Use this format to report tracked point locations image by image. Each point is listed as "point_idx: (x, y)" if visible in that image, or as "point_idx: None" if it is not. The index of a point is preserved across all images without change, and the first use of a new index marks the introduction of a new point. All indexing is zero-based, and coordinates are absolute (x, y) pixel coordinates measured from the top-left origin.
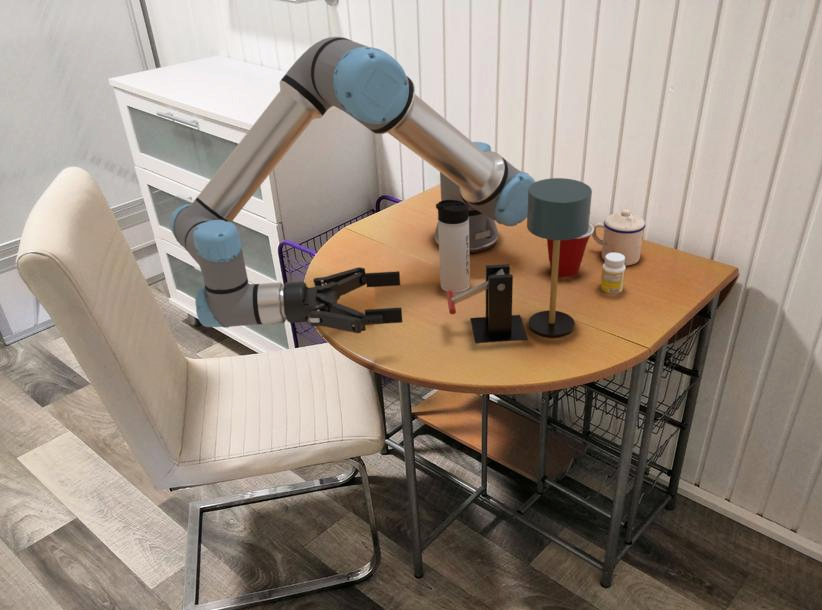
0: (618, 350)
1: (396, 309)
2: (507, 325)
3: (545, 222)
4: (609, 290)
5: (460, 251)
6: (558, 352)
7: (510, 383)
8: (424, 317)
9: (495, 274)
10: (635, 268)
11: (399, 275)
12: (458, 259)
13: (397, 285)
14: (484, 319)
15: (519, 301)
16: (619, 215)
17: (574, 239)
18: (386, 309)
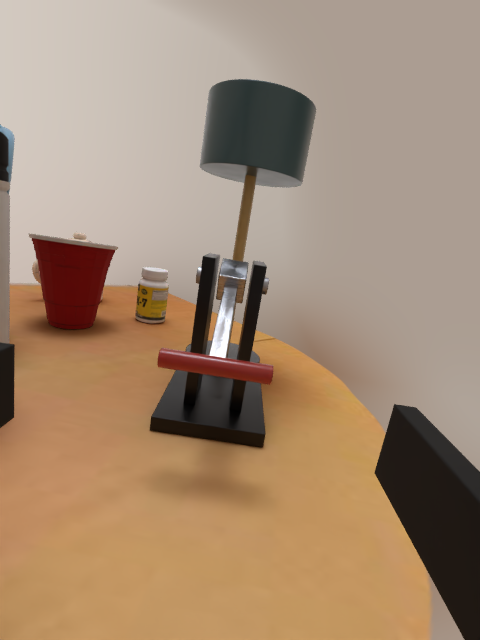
0: (280, 348)
1: (424, 421)
2: None
3: (302, 145)
4: (162, 313)
5: (8, 275)
6: (283, 377)
7: (384, 435)
8: (41, 514)
9: (232, 269)
10: (110, 301)
11: (13, 359)
12: (4, 302)
13: (3, 424)
14: (170, 402)
15: (112, 365)
16: (76, 239)
17: (113, 251)
18: (451, 453)
